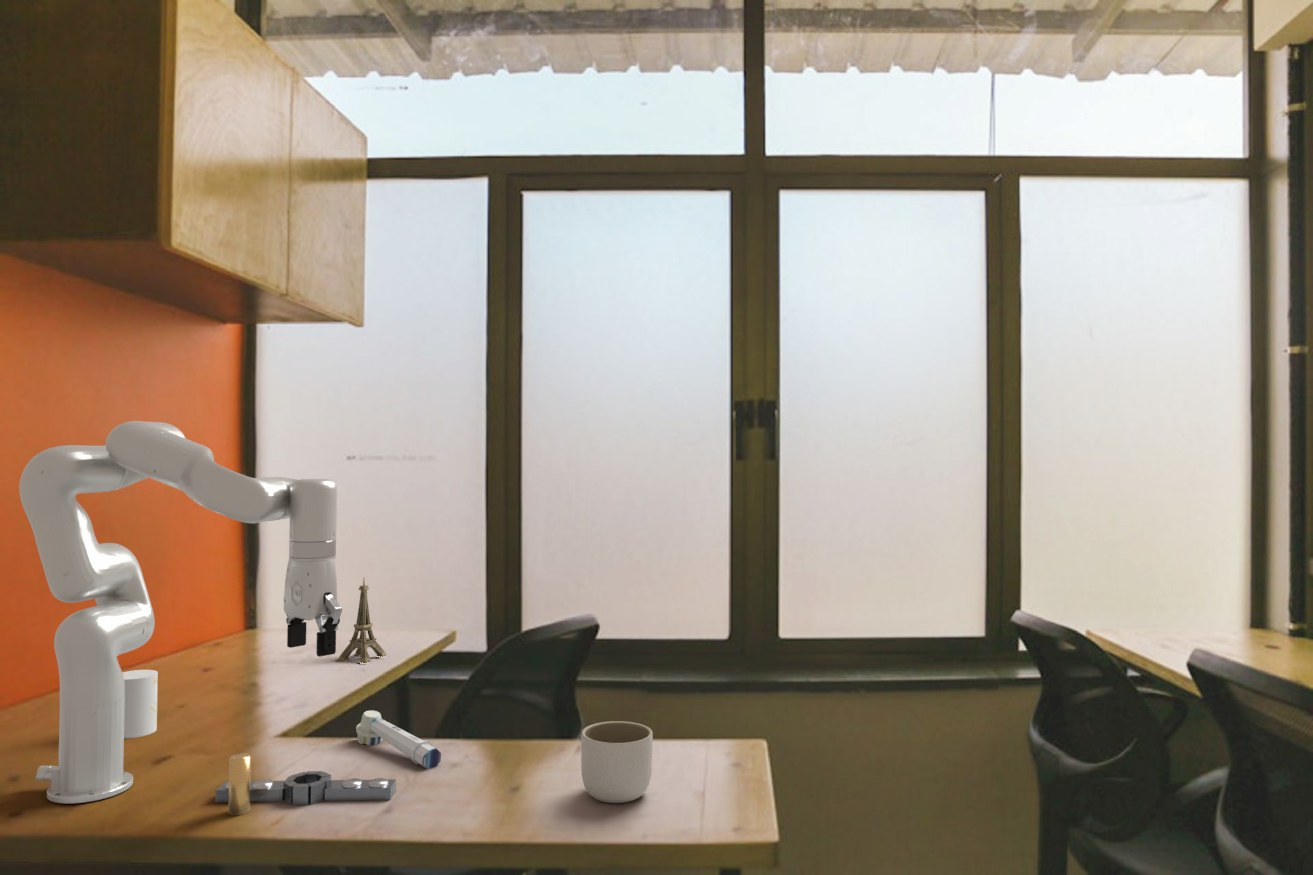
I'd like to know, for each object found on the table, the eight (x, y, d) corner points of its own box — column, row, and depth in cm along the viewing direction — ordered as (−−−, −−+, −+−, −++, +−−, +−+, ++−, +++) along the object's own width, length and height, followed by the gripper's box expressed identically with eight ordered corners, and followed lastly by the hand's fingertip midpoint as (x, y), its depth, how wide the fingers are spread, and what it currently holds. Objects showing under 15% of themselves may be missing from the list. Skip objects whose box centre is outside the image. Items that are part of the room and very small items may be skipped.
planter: (658, 785, 158) (659, 724, 158) (642, 812, 146) (643, 746, 146) (592, 778, 161) (593, 718, 161) (570, 804, 149) (571, 739, 149)
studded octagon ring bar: (211, 805, 147) (211, 787, 147) (229, 789, 154) (229, 772, 154) (388, 803, 148) (388, 785, 149) (397, 787, 156) (398, 770, 156)
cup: (162, 731, 184) (163, 674, 184) (118, 741, 178) (119, 681, 178) (149, 723, 190) (150, 667, 190) (106, 731, 184) (107, 674, 184)
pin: (225, 815, 143) (226, 759, 143) (233, 807, 146) (234, 753, 146) (245, 815, 143) (246, 759, 143) (253, 807, 146) (254, 752, 146)
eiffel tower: (359, 653, 257) (360, 567, 257) (389, 656, 253) (391, 569, 253) (334, 661, 247) (336, 572, 247) (366, 665, 243) (367, 574, 243)
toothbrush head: (421, 751, 163) (352, 706, 180) (418, 786, 164) (349, 737, 180) (445, 745, 167) (375, 701, 184) (442, 778, 168) (373, 731, 184)
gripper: (267, 548, 154) (265, 646, 154) (318, 556, 143) (316, 662, 143) (307, 545, 160) (305, 639, 160) (360, 553, 149) (358, 654, 149)
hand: (311, 650), depth 151 cm, fingers open, 9 cm apart
